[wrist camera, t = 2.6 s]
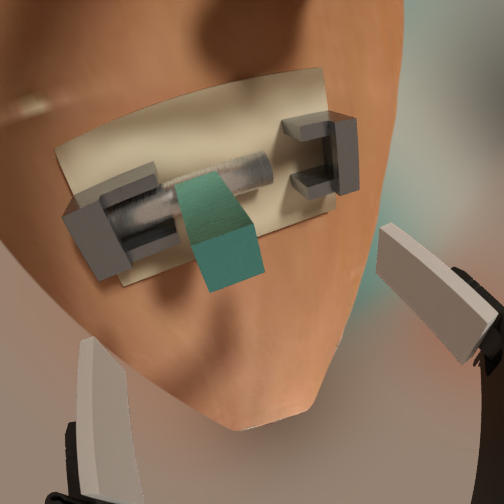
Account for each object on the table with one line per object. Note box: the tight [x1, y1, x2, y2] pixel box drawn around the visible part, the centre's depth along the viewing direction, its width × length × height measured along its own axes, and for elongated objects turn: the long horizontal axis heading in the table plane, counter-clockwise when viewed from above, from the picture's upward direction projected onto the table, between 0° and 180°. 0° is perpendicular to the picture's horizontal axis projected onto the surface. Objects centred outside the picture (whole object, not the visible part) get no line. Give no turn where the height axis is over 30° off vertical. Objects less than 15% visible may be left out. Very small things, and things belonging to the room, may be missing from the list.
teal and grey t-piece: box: [106, 150, 274, 293], centre depth 18 cm, size 3×15×11 cm, turn 102°
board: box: [54, 68, 336, 286], centre depth 23 cm, size 14×22×1 cm, turn 102°
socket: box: [281, 110, 359, 201], centre depth 22 cm, size 6×4×4 cm
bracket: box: [62, 161, 181, 281], centre depth 20 cm, size 6×7×4 cm
